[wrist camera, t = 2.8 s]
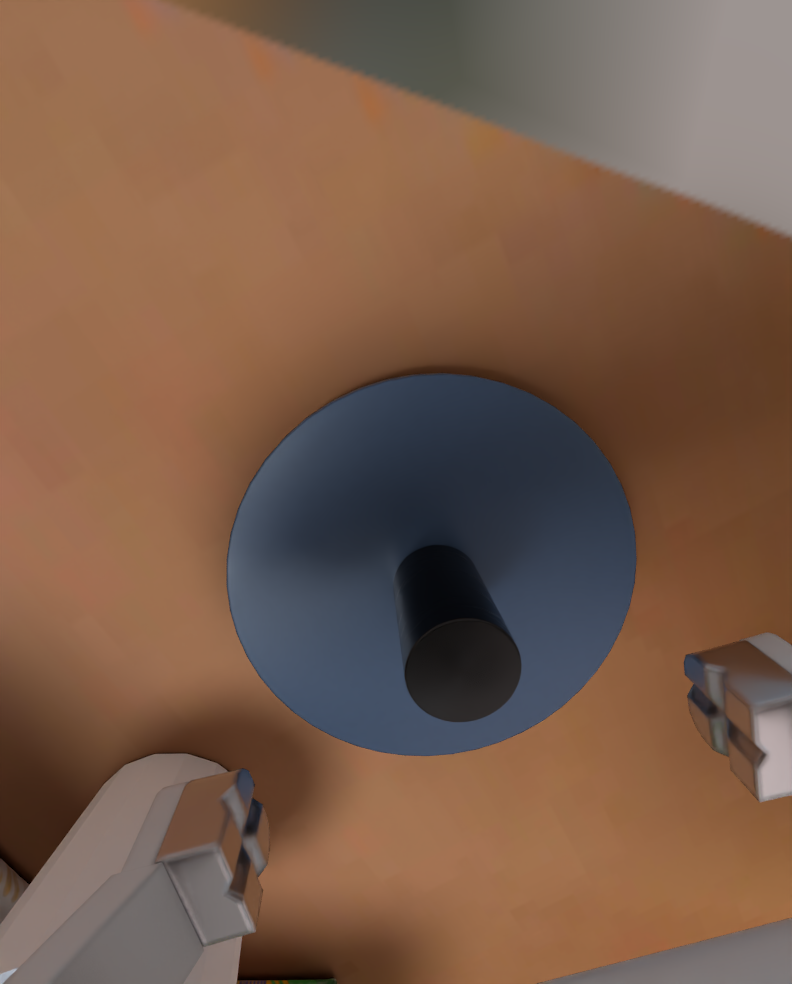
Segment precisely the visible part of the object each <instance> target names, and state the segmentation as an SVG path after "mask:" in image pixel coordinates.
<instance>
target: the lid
mask: <svg viewBox="0 0 792 984" xmlns="http://www.w3.org/2000/svg"><path fill="white" fill-rule="evenodd" d="M635 571H636V541H635V531H634V526H633V521H632V516H631V511H630V507H629V505H628V502H627V499H626V496H625V493H624V491H623V488H622V485H621V483H620V481H619V479H618V477H617V476H616V474H615V472H614V470H613V468H612V466H611V464H610V462H609V461H608V460H607V458H606V457H605V456H604V454H603V453H602V452H601V450H600V449H599V447H598V446H597V445H596V443H595V442H594V441H593V440H592V439H591V438H590V437H589V436H588V435H587V434H586V433H585V432H584V431H583V430H582V429H581V428H580V427H579V426H578V425H577V424H576V423H575V422H574V421H573V420H571V419H570V418H569V417H567V416H566V415H565V414H563V413H562V412H561V411H559V410H558V409H557V408H555V407H554V406H552V405H551V404H549V403H547V402H545V401H543V400H542V399H540V398H538V397H536V396H534V395H533V394H531V393H529V392H526V391H523V390H521V389H518V388H516V387H513V386H510V385H508V384H505V383H502V382H498V381H494V380H489V379H485V378H480V377H476V376H472V375H461V374H450V373H429V374H412V375H407V376H401V377H396V378H390V379H385V380H382V381H379V382H376V383H373V384H370V385H367V386H364V387H361V388H358V389H356V390H353V391H351V392H349V393H347V394H345V395H343V396H341V397H339V398H337V399H335V400H333V401H331V402H329V403H328V404H326V405H325V406H323V407H322V408H320V409H319V410H317V411H316V412H314V413H313V414H311V415H310V416H308V417H307V418H306V419H305V420H303V421H302V422H301V423H300V424H299V425H298V426H297V427H295V428H294V429H293V430H292V431H291V432H290V433H289V434H287V435H286V436H285V438H284V439H283V440H282V441H281V442H280V443H279V444H278V446H277V447H276V448H275V449H274V450H273V451H272V452H271V454H270V455H269V456H268V457H267V458H266V459H265V461H264V462H263V464H262V465H261V467H260V469H259V470H258V472H257V473H256V475H255V476H254V478H253V479H252V481H251V482H250V484H249V486H248V488H247V491H246V493H245V495H244V497H243V499H242V501H241V503H240V506H239V508H238V511H237V514H236V518H235V521H234V524H233V528H232V531H231V535H230V541H229V548H228V555H227V591H228V599H229V606H230V611H231V615H232V618H233V622H234V625H235V629H236V632H237V635H238V637H239V639H240V642H241V644H242V646H243V648H244V651H245V653H246V655H247V657H248V659H249V660H250V662H251V663H252V665H253V667H254V668H255V670H256V671H257V673H258V675H259V676H260V678H261V679H262V680H263V681H264V682H265V684H266V685H267V686H268V687H269V688H270V690H271V691H272V692H273V693H274V694H275V696H276V697H278V698H279V699H280V700H281V701H282V702H283V703H284V704H285V705H286V706H287V707H288V708H290V709H291V710H292V711H293V712H294V713H295V714H297V715H298V716H300V717H301V718H303V719H304V720H305V721H307V722H308V723H310V724H311V725H312V726H314V727H316V728H318V729H320V730H322V731H324V732H325V733H327V734H329V735H331V736H333V737H335V738H338V739H340V740H343V741H345V742H348V743H350V744H353V745H356V746H359V747H363V748H367V749H371V750H374V751H378V752H384V753H391V754H398V755H411V756H434V755H446V754H455V753H460V752H465V751H470V750H475V749H479V748H482V747H485V746H489V745H492V744H495V743H498V742H501V741H503V740H506V739H508V738H510V737H513V736H515V735H517V734H519V733H522V732H524V731H525V730H527V729H529V728H531V727H532V726H534V725H536V724H538V723H539V722H541V721H543V720H544V719H546V718H547V717H548V716H550V715H551V714H552V713H554V712H555V711H557V710H558V709H559V708H561V707H562V706H563V705H564V704H565V703H567V702H568V701H569V700H570V699H571V698H572V697H573V696H574V695H575V694H576V693H578V692H579V691H580V690H581V689H582V687H583V686H584V685H585V684H586V683H587V682H588V681H589V679H590V678H591V677H592V676H593V675H594V674H595V672H596V671H597V670H598V668H599V667H600V665H601V664H602V662H603V661H604V659H605V658H606V656H607V655H608V654H609V652H610V650H611V648H612V646H613V644H614V643H615V641H616V639H617V637H618V635H619V633H620V631H621V628H622V626H623V623H624V620H625V617H626V615H627V612H628V609H629V606H630V601H631V597H632V592H633V588H634V583H635Z"/></svg>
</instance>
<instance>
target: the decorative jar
mask: <svg viewBox="0 0 792 984" xmlns="http://www.w3.org/2000/svg"><path fill="white" fill-rule="evenodd" d="M28 886H29V884H28V883H27V882H26V881H25V880H24V879H22V878H21V877H20V876H19V875H18V874H17V873H16V872H15V871H14V870H13V869H12V868H10V867H9V866H8V865H7V864H6V863H5V862H4V861H3V860H2V859H1V858H0V924H1V923H2V921H3V920H4V919H5V917H6V916H7V915H8V913H9V912H10V911H11V909H12V908H13V907H14V905H15V904H16V902H17V901H18V900H19V898H20V897H21V896H22V894H23V893H24V892H25V890H26V889H27V888H28Z"/></svg>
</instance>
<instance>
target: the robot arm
mask: <svg viewBox="0 0 792 984" xmlns="http://www.w3.org/2000/svg"><path fill="white" fill-rule="evenodd" d="M684 670H685V675H686V676H687V677H688V678H689V679H690V680H691V681H692V682H693V683H694V684H693V686H692V688H691V690H690V691H689V693H688V695H687V698H688V704H689V711H690V714H691V716H692V719H693V721H694V724H695V726H696V728H697V730H698V731H699V733H700V734H701V736H702V738H703V739H704V740H705V741H706V743H707V744H708V745H709V746H710V747H711V748H712V750H714V751H716V752H719V753H721V754H723V755H726V756H728V757H729V758H730V769H731V771H732V772H733V773H734V774H735V775H736V777H737V778H738V779H739V780H740V781H741V782H742V783H743V784H744V785H745V787H746V788H747V789H748V790H749V791H750V792H751V793H752V794H753V796H754V797H755V798H756V799H757V800H758V801H759V802H763V801H768V800H772V799H776V798H781V797H785V796H790V795H792V645H791V644H789V643H788V642H786V641H785V640H783V639H782V638H780V637H779V636H777V635H775V634H772V633H768V632H766V633H763V634H759V635H756V636H752V637H749V638H745V639H742V640H740V641H738V642H733V643H730V644H726V645H722V646H718V647H714V648H711V649H707V650H703V651H699V652H695V653H692V654H688V655H686V657H685V660H684ZM254 787H255V784H254V782H253V780H252V777H251V775H250V773H249V771H248V770H246V769H238V770H234V771H230V772H225V773H221V774H217V775H212V776H208V777H204V778H199V779H195V780H191V781H190V782H184V783H180V784H175V785H171V786H167V787H164V788H163V789H161V790H160V791H159V792H158V793H157V794H156V796H155V799H154V801H153V803H152V805H151V807H150V810H149V812H148V814H147V816H146V818H145V820H144V823H143V825H142V827H141V829H140V831H139V834H138V836H137V838H136V840H135V842H134V844H133V847H132V849H131V851H130V853H129V855H128V857H127V860H126V862H125V864H124V866H123V868H122V871H121V873H118V874H114V875H111V876H110V877H109V878H108V879H107V880H106V881H105V882H104V883H103V884H102V885H101V886H100V887H99V888H98V889H97V890H96V891H95V892H94V893H93V894H92V895H91V896H90V897H89V898H88V899H87V900H86V901H85V902H84V903H83V904H82V905H81V906H80V907H79V908H78V909H77V910H76V911H75V912H74V913H73V914H72V915H71V916H70V917H69V918H68V919H67V920H66V921H65V922H64V923H63V924H62V925H61V926H60V927H59V928H58V929H57V930H56V931H55V932H54V933H53V934H52V935H51V936H50V937H49V938H48V939H47V940H46V941H45V942H44V943H43V944H42V945H41V946H40V947H39V948H38V949H37V950H36V951H35V952H34V953H33V954H32V955H31V956H30V957H29V958H28V959H27V960H26V961H25V962H24V963H23V964H22V965H21V966H20V967H19V968H18V969H17V970H16V971H15V972H14V973H13V974H12V975H11V976H10V977H9V978H8V979H7V980H6V981H5V982H4V983H3V984H183V983H184V982H185V980H186V979H187V977H188V976H189V974H190V972H191V971H192V969H193V968H194V966H195V964H196V963H197V961H198V960H199V958H200V956H201V955H202V953H203V952H204V948H203V947H206V946H209V945H213V944H216V943H220V942H223V941H226V940H230V939H233V938H237V937H240V936H244V935H247V934H250V933H254V932H255V931H256V926H257V920H258V915H259V909H260V904H261V898H262V893H263V889H262V887H261V884H260V882H259V879H258V877H259V875H260V874H261V873H262V871H263V870H264V869H265V867H266V866H267V864H268V858H269V852H270V829H269V824H268V819H267V815H266V812H265V810H264V807H263V804H261V803H259V802H258V801H256V800H255V799H253V798H252V796H253V791H254ZM537 984H792V918H788V919H785V920H781V921H777V922H773V923H769V924H765V925H761V926H757V927H754V928H750V929H746V930H742V931H738V932H734V933H730V934H727V935H723V936H719V937H715V938H711V939H707V940H703V941H700V942H696V943H692V944H688V945H684V946H680V947H676V948H673V949H669V950H665V951H661V952H657V953H653V954H649V955H646V956H642V957H638V958H634V959H630V960H626V961H622V962H618V963H615V964H611V965H607V966H603V967H599V968H595V969H591V970H587V971H583V972H580V973H576V974H572V975H568V976H564V977H560V978H556V979H552V980H548V981H545V982H541V983H537Z"/></svg>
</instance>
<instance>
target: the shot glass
mask: <svg viewBox="0 0 792 984" xmlns="http://www.w3.org/2000/svg"><path fill="white" fill-rule="evenodd" d="M225 772H228V771H227V770H226V769H224V768H223V767H222V766H220V765H219V764H218V763H215V762H212V761H209V760H206V759H203V758H199V757H196V756H193V755H190V754H153V755H150V756H148V757H145V758H142V759H139V760H137V761H134V762H131V763H129V764H126V765H124V766H123V767H122V768H121V769H120V770H119V771H118V772H117V773H115V774H114V775H113V776H112V777H111V778H110V779H109V780H108V781H107V782H106V783H104V785H103V786H102V787H101V789H100V790H99V791H98V793H97V794H96V795H95V797H94V798H93V800H92V801H91V802H90V804H89V805H88V806H87V808H86V809H85V810H84V812H83V813H82V814H81V816H80V817H79V819H78V820H77V821H76V823H75V824H74V825H73V827H72V828H71V829H70V831H69V832H68V833H67V835H66V836H65V837H64V839H63V840H62V842H61V843H60V844H59V846H58V847H57V848H56V850H55V851H54V852H53V854H52V855H51V856H50V858H49V859H48V861H47V862H46V863H45V865H44V866H43V867H42V869H41V870H40V871H39V873H38V874H37V875H36V877H35V878H34V879H33V881H32V882H31V884H30V885H29V886H28V888H27V889H26V890H25V892H24V893H23V894H22V896H21V897H20V898H19V900H18V901H17V902H16V904H15V905H14V907H13V908H12V909H11V911H10V912H9V913H8V915H7V916H6V917H5V919H4V920H3V921H2V923H1V924H0V984H3V983H4V982H5V981H6V980H7V979H8V978H9V977H10V976H11V975H12V974H13V973H14V972H15V971H16V970H17V969H18V968H19V967H20V966H21V965H22V964H23V963H24V962H25V961H26V960H27V959H28V958H29V957H30V956H31V955H32V954H33V953H34V952H35V951H36V950H37V949H38V948H39V947H40V946H41V945H42V944H43V943H44V942H45V941H46V940H47V939H48V938H49V937H50V936H51V935H52V934H53V933H54V932H55V931H56V930H57V929H58V928H59V927H60V926H61V925H62V924H63V923H64V922H65V921H66V920H67V919H68V918H69V917H70V916H71V915H72V914H73V913H74V912H75V911H76V910H77V909H78V908H79V907H80V906H81V905H82V904H83V903H84V902H85V901H86V900H87V899H88V898H89V897H90V896H91V895H92V894H93V893H94V892H95V891H96V890H97V889H98V888H99V887H100V886H101V885H102V884H103V883H104V882H105V881H106V880H107V879H108V878H109V877H110V876H111V875H114V874H118V873H121V871H122V868H123V866H124V864H125V862H126V860H127V857H128V855H129V853H130V851H131V849H132V847H133V844H134V842H135V840H136V838H137V836H138V834H139V831H140V829H141V827H142V825H143V823H144V820H145V818H146V816H147V814H148V812H149V810H150V807H151V805H152V803H153V801H154V799H155V796H156V794H157V793H158V792H159V791H160V790H161V789H163V788H164V787H167V786H171V785H175V784H180V783H184V782H190V781H191V780H195V779H199V778H204V777H208V776H212V775H217V774H221V773H225ZM241 942H242V936H240V937H237V938H233V939H230V940H226V941H223V942H220V943H216V944H213V945H209V946H206V947H203V948H204V952H203V953H202V955H201V956H200V958H199V960H198V961H197V963H196V964H195V966H194V968H193V969H192V971H191V972H190V974H189V976H188V977H187V979H186V980H185V982H184V983H183V984H237V976H238V967H239V959H240V951H241Z"/></svg>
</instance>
